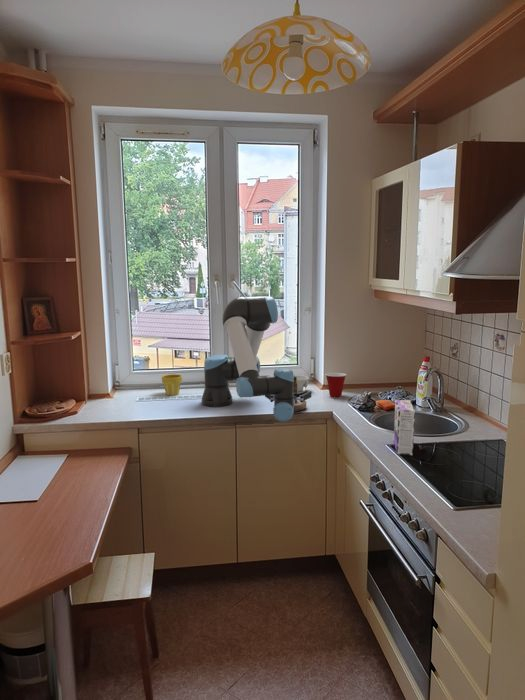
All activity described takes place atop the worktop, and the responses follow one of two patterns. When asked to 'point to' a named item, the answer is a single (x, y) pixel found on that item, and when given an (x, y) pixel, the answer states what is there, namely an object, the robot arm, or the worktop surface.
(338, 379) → the plastic cup
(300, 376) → the teacup
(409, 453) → the candy box
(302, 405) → the disc
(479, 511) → the worktop surface
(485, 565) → the worktop surface
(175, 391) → the plant pot
